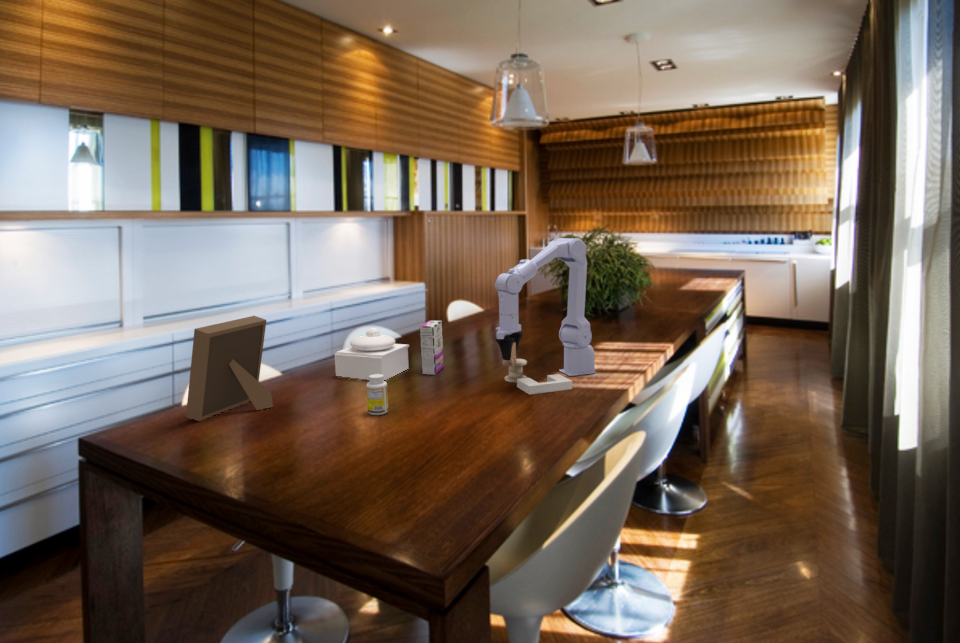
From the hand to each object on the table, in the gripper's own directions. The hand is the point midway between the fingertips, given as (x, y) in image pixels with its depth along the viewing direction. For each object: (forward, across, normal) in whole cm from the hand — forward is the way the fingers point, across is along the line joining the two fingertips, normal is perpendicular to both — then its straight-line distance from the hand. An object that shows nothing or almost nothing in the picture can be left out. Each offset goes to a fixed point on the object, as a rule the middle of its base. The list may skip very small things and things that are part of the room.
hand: (509, 358), depth 196 cm
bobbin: (+9, -8, -2) cm, 12 cm away
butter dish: (+9, +1, -49) cm, 50 cm away
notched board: (+9, -2, +10) cm, 14 cm away
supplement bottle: (+9, +36, -23) cm, 44 cm away
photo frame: (+9, +50, -60) cm, 79 cm away
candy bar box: (+9, -9, -32) cm, 34 cm away
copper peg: (+2, 0, 0) cm, 2 cm away
